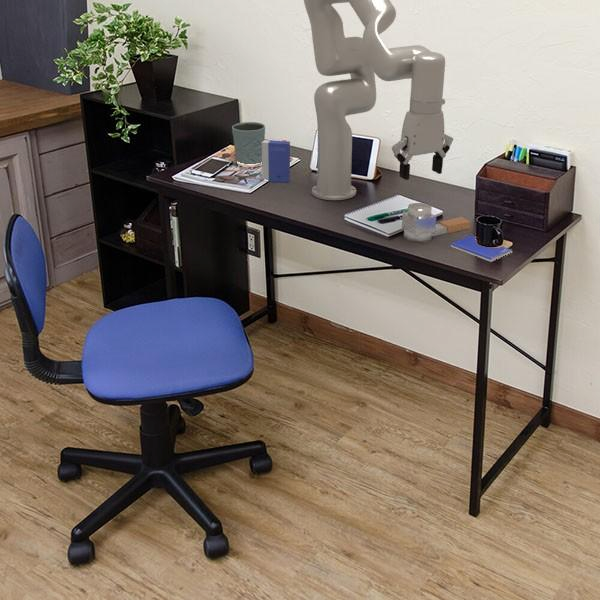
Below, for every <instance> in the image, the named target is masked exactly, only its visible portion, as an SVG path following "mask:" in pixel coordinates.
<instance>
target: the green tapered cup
mask: <svg viewBox="0 0 600 600" xmlns="http://www.w3.org/2000/svg"><path fill="white" fill-rule="evenodd" d="M231 131H232V136H233V146H234V153H235V162H236V161H238V162H240V163H244V164H256V163H261V162H262V142H263V141H264V140H266V138H265V135H266V125H265V124H264V123H261V122H255V121H247V122H245V121H244V122H239V123H235V124H233V125H232V126H231Z"/></svg>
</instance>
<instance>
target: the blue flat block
mask: <svg viewBox="0 0 600 600" xmlns="http://www.w3.org/2000/svg"><path fill="white" fill-rule="evenodd" d="M476 237H477V236H474V235H469V236H465V237H463V238H462V239H458V240H456V241H454V242H451V244H450V248H453V249H456V250H459V251H462V252H463V253H467V254H469V255H471V256H475V257H476V256H477V258H480V259H482V260H485V261H487V262H490V263H492V262H494V261H496V259H497V260H499V259H501V257H502V258H503V256H504V257H506V256H508V254H509V255H511V254H513V249H511V248H507V247H505V246H503V247H500V248H490V247H485V246H481V245H479V244H477V243H476V240H475V239H476ZM510 253H511V254H510ZM505 255H506V256H505Z"/></svg>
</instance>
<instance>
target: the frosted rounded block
mask: <svg viewBox="0 0 600 600" xmlns="http://www.w3.org/2000/svg"><path fill="white" fill-rule="evenodd" d="M432 211H433V210H432V205H430V204H428V203H425V202H424V203H423V202H415V203H409V204H408V205H407V211H405V212H402V216H401V217H402V219H401V220H402V221H401V228H402V229H403V230H404V229H405V230H407V231H408V232H410V233H412V234H414V235H415V236H416V235H421V234H425V233H430V232H434V231H435V229H436V224H437V216H436V215H435V214H433V213H432Z"/></svg>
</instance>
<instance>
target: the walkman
mask: <svg viewBox="0 0 600 600" xmlns="http://www.w3.org/2000/svg"><path fill="white" fill-rule="evenodd" d="M261 172H262V175H261V177H262V179H266V180H268V181H267V182H273V183H289V182H290V181H291V141H289V140H288V141H287V139H282V140H274V139H273V140H272V139H271V140H270V139H269V140H268V139H264V141H263V142H262V166H261ZM262 179H261V180H262Z"/></svg>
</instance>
